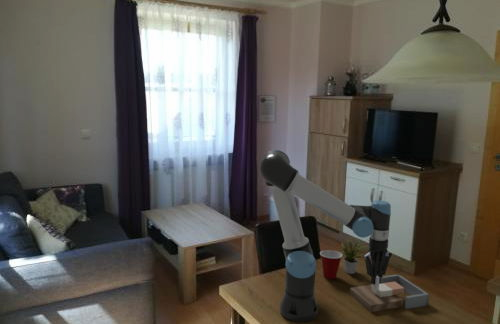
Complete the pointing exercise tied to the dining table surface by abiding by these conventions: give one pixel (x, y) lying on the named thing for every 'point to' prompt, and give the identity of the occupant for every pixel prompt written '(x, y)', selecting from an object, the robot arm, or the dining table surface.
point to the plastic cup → (330, 263)
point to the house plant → (351, 257)
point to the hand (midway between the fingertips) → (375, 290)
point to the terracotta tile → (395, 288)
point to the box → (409, 291)
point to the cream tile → (384, 290)
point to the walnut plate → (375, 299)
